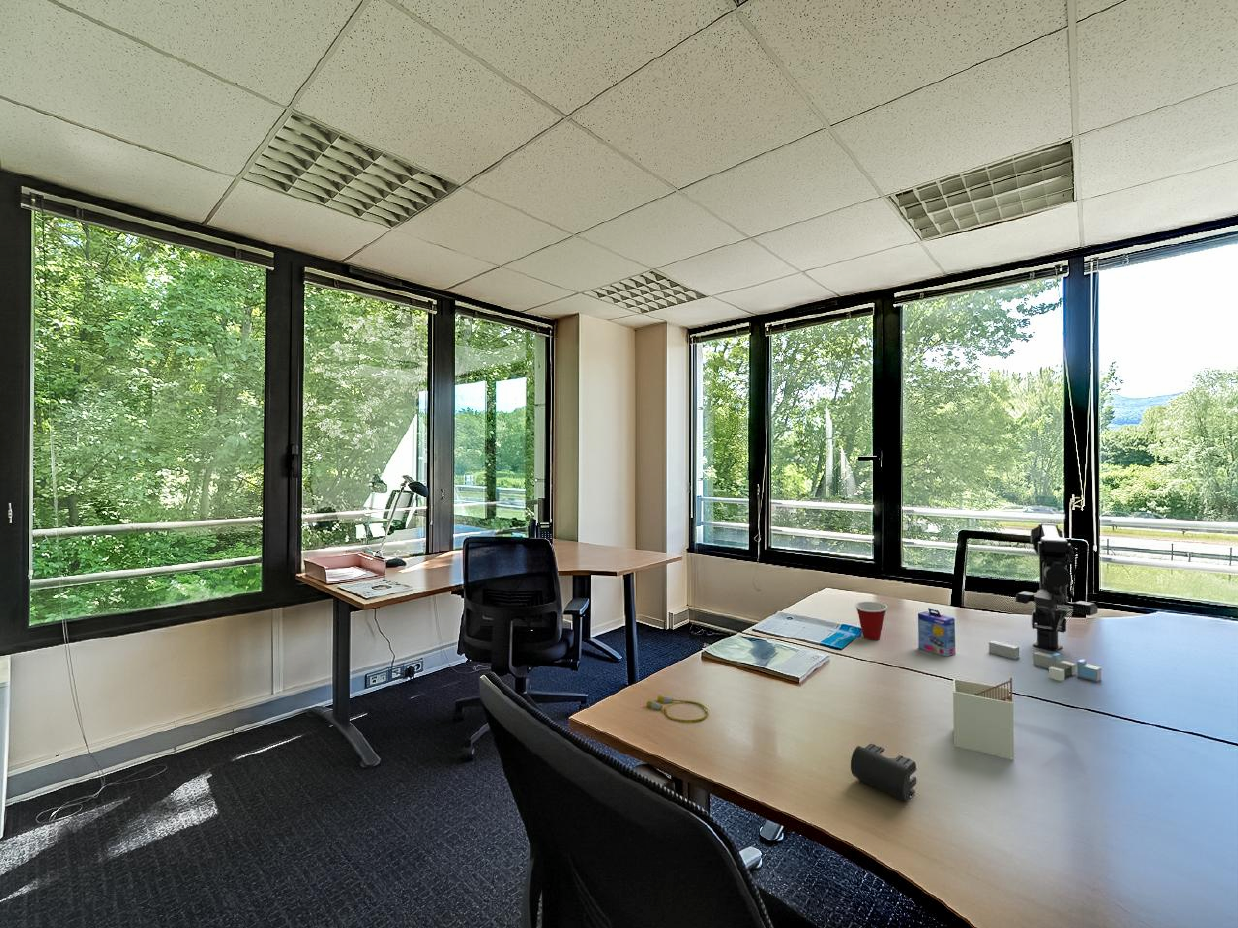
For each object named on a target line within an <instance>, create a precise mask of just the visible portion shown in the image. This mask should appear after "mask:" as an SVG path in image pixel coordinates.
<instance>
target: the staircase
mask: <svg viewBox="0 0 1238 928" xmlns="http://www.w3.org/2000/svg"><path fill="white" fill-rule="evenodd" d="M952 708H953V709H952V710H953V711H952V713H953V715H952V716H953V721H952V722H953V728H952V729H953V747H958V748H962V749H965V750H969V749H970V751H974V752H978V751H979V752H978V753H982V752H983V754H986V753H989V754H988V755H991V754H993V755H992V756H995V755H997V756H996V757H999V756H1003V757H1002V758H1004V757H1007V758H1006V759H1008V758H1012V759H1014V760H1015V748H1014V747H1015V744H1014V743H1015V742H1014V741H1015V739H1014V738H1015V736H1014V735H1015V733H1014V731H1015V730H1014V729H1015V727H1014V725H1015V724H1014V702H1013V678H1012V677H1009V680H1008V681H1005V682H1003V683H1001V684H998V685H991V684H985V683H980V682H974V681H970V680H969V681H967V680H964V679H963V680H962V679H957V678H952ZM1012 759H1011V760H1012Z"/></svg>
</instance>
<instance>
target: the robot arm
mask: <svg viewBox="0 0 1238 928" xmlns="http://www.w3.org/2000/svg"><path fill="white" fill-rule="evenodd" d="M1063 534H1064V533H1063V531H1062V530H1061V529H1060V528H1059V525H1058V524H1057V523H1051V522H1050V523H1047V522H1041V523H1038V524H1037V526H1036V527H1034V528H1032V529H1031V530H1030V545H1032V549H1033V551H1034V552H1035V553H1036V555H1037V556H1038V575H1039V589H1038V590H1037V592H1031V591H1021V592H1017V593H1016V594H1015V602H1016V603H1020V604H1026V605H1027V604H1029V603H1030V602H1031V603H1032V602H1033V603H1034V604H1035V605H1034V610H1032V611H1031V628H1032V629H1034V630H1035V629H1036V642H1034V643H1032V646H1033V647H1036V648H1041V649H1046V650H1049V651H1054V652H1057V651H1059V650H1061V649H1063V648H1064V646H1063V645H1061V644H1059V633H1063V634H1064V633H1066V631H1067V618H1066V616H1067V614H1069V613H1072V612H1074V613H1075V614H1079V615H1082V616H1088V617H1089V616H1093V615H1095V614H1098V606H1097V605H1096V604H1095V603H1094V602H1089V601H1088V602H1087V601H1082V600H1079V601H1076V602H1072V601H1071V602H1069V596H1068V591H1067V590H1068V589H1067V588H1069V584H1070V583H1071V580H1072V575H1071V573H1070V572H1069V570H1068V568H1067V565H1073V562H1075V552H1074V548H1073V546H1072V544H1071V543H1068V540H1067V539H1066V538H1064V536H1063Z"/></svg>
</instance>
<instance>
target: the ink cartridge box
mask: <svg viewBox="0 0 1238 928" xmlns="http://www.w3.org/2000/svg"><path fill="white" fill-rule="evenodd" d="M927 610H928V611H927ZM927 610H926V611H922V612H918V613H917V630H918V631H917V634H918V635H917V636H918V639H917V641H918V649H921V650H924V651H927V652H931V653H934V654H937V655H939V656H943V657H949V656H953V655H956V627H955V626H956V621H955V619H956V618H954V617H952V616H949V615H944V614H941V613H940V611H939V610H938V609H934V608H930V607H929V608H927Z"/></svg>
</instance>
